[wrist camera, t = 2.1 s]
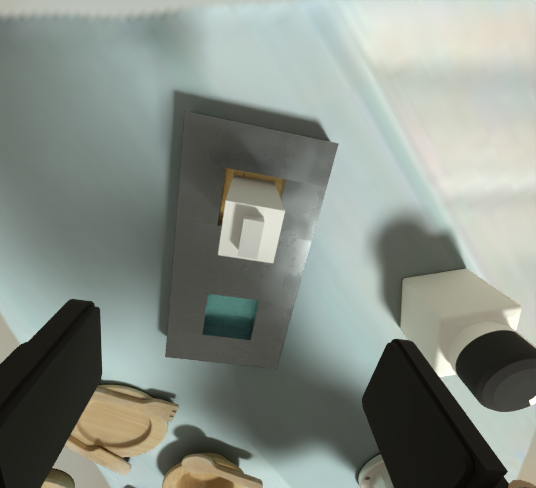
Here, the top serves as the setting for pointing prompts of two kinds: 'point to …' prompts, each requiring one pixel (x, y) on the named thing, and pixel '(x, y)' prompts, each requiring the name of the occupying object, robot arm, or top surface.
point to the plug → (251, 220)
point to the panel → (236, 269)
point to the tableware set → (140, 442)
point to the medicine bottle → (471, 336)
